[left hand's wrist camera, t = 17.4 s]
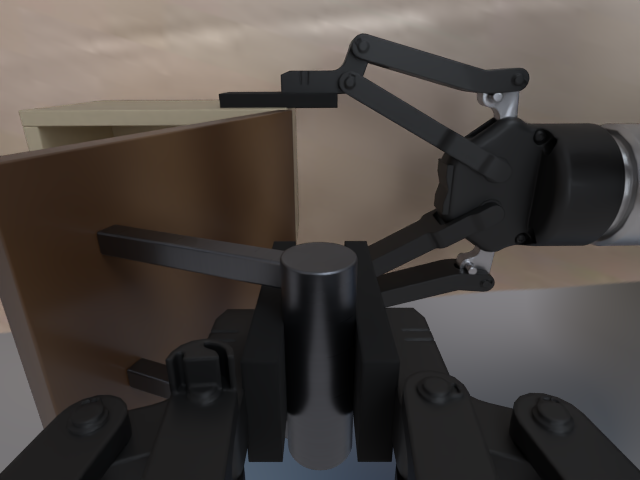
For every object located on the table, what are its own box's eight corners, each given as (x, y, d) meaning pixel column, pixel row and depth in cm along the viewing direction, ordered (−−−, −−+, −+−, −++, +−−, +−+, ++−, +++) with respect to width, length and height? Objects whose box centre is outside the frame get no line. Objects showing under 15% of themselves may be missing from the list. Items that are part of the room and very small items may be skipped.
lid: (62, 489, 12) (313, 608, 10) (-47, 163, 9) (306, 201, 6) (285, 276, 25) (419, 300, 23) (278, 109, 22) (437, 113, 19)
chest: (125, 225, 34) (60, 275, 26) (101, 100, 30) (17, 110, 22) (298, 224, 34) (291, 274, 26) (295, 99, 30) (286, 109, 22)
